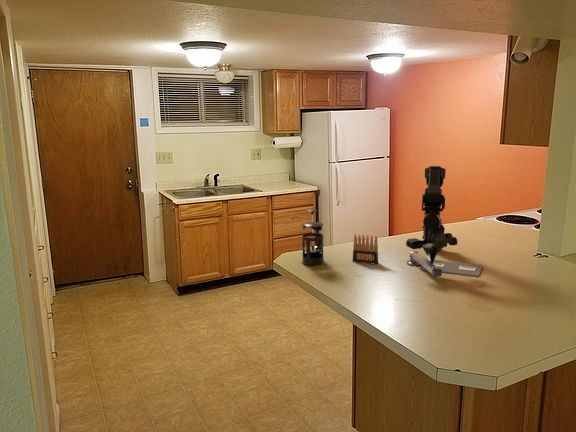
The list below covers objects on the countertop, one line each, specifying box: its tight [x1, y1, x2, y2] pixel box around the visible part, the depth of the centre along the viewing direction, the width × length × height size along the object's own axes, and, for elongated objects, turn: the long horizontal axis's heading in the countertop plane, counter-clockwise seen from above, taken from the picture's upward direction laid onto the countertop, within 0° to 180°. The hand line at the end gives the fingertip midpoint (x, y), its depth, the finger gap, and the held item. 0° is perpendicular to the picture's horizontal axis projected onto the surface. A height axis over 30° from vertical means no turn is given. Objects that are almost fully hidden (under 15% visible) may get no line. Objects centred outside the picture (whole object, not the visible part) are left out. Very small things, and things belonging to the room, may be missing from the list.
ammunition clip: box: [352, 233, 379, 265], centre depth 198 cm, size 11×2×12 cm, turn 65°
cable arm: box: [409, 250, 443, 277], centre depth 184 cm, size 26×4×2 cm, turn 6°
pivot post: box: [405, 257, 422, 267], centre depth 195 cm, size 6×6×3 cm
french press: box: [301, 208, 325, 267], centre depth 198 cm, size 12×9×23 cm
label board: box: [419, 258, 483, 278], centre depth 188 cm, size 22×14×1 cm, turn 62°
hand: (431, 263), depth 182 cm, fingers closed
